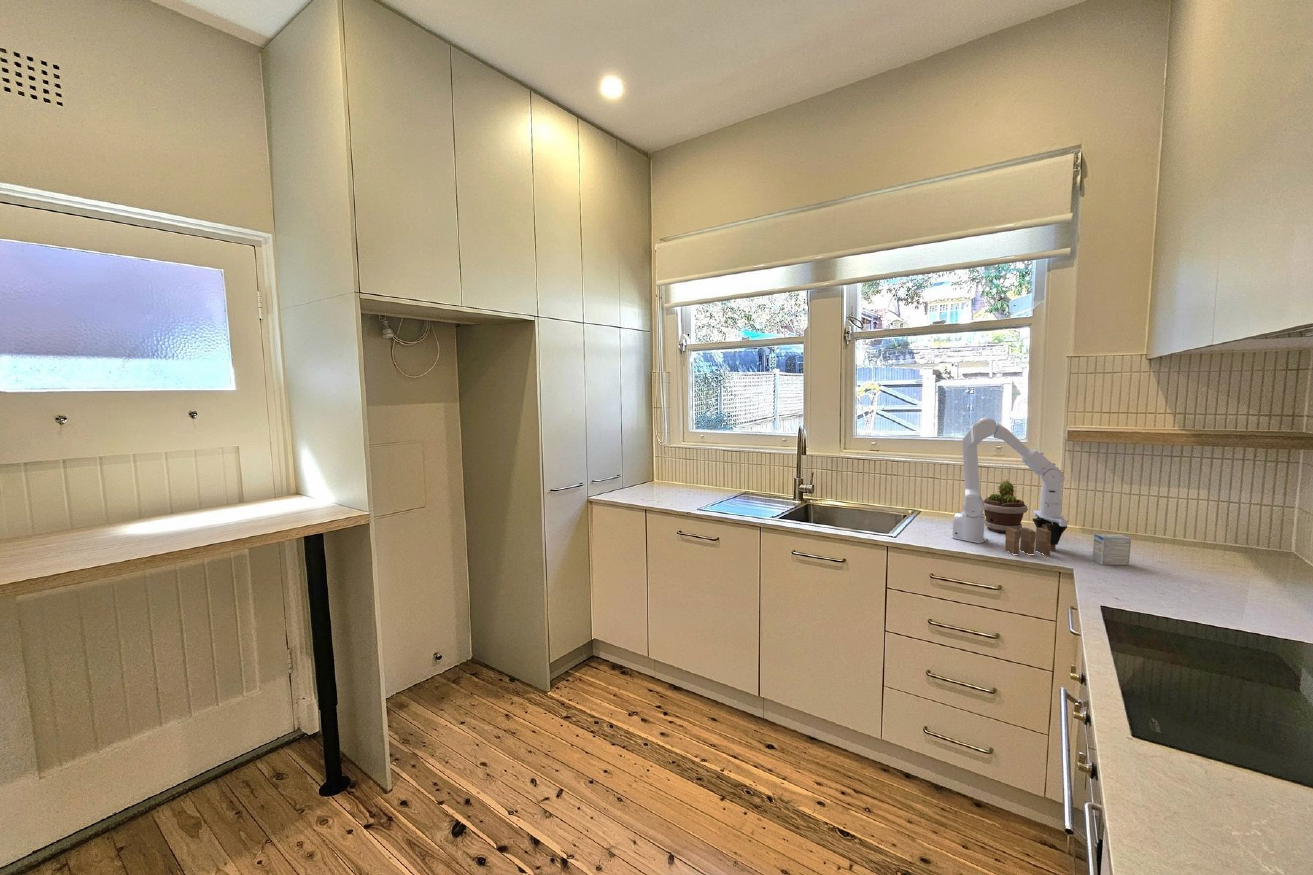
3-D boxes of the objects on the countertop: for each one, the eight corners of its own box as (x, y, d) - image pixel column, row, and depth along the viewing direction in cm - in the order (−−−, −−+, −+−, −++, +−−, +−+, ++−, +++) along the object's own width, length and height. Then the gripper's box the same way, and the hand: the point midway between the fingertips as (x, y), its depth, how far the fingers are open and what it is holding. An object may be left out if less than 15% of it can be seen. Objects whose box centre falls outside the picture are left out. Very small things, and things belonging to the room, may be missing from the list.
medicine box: (1118, 561, 168) (1120, 534, 167) (1129, 565, 163) (1131, 538, 163) (1091, 560, 169) (1093, 533, 168) (1101, 565, 164) (1103, 537, 163)
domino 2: (1028, 555, 174) (1030, 531, 173) (1019, 550, 179) (1021, 527, 178) (1034, 555, 174) (1035, 531, 173) (1024, 550, 179) (1026, 527, 178)
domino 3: (1044, 555, 174) (1045, 531, 173) (1034, 551, 179) (1036, 527, 178) (1049, 555, 174) (1051, 531, 173) (1040, 551, 178) (1041, 527, 178)
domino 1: (1013, 555, 174) (1014, 531, 174) (1004, 550, 179) (1006, 527, 179) (1018, 555, 174) (1020, 531, 174) (1009, 550, 179) (1011, 527, 179)
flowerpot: (1019, 538, 194) (1022, 483, 192) (973, 529, 205) (975, 478, 203) (1031, 530, 203) (1034, 478, 201) (986, 523, 215) (989, 474, 213)
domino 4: (1050, 551, 178) (1051, 527, 177) (1040, 546, 183) (1042, 523, 182) (1055, 551, 178) (1056, 527, 177) (1045, 546, 183) (1047, 524, 182)
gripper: (1078, 507, 172) (1075, 548, 173) (1049, 498, 186) (1047, 536, 187) (1055, 507, 172) (1052, 548, 173) (1028, 497, 187) (1025, 535, 188)
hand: (1048, 541), depth 180 cm, fingers closed on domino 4, 5 cm apart
